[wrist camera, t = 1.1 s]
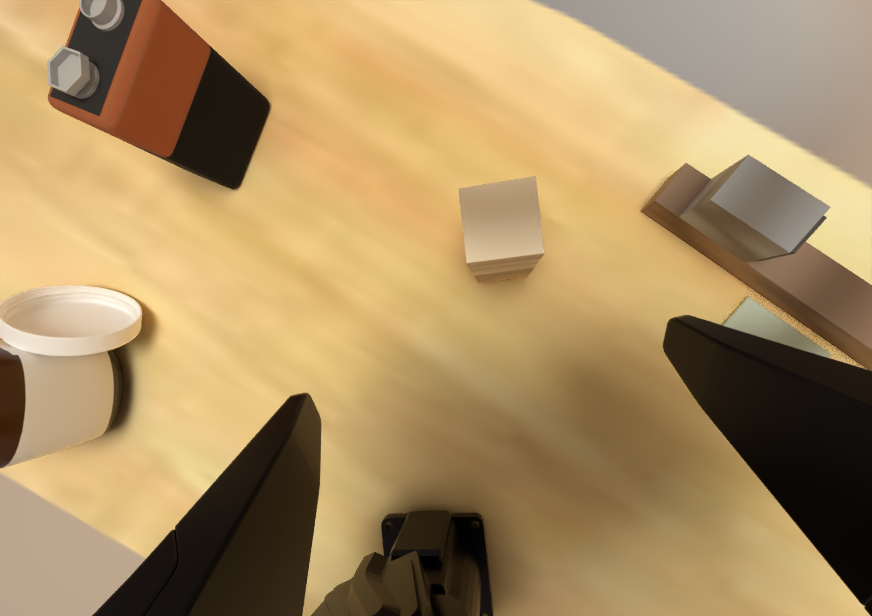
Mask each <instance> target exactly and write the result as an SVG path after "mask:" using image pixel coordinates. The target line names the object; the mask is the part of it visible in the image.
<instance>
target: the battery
mask: <svg viewBox="0 0 872 616" xmlns="http://www.w3.org/2000/svg"><path fill="white" fill-rule="evenodd" d="M47 66H48V83H49V86H51V88H50V91H49V94H48V100H49V103H50V104H51V105H52V106H53V107H54V108H55V109H57V110H59V111H61V112H63V113H65V114H67V115H69V116H71V117H74V118H76V119H78V120H80V121H82V122H84V123H86V124H89V125H91V126H93V127H95V128H97V129H99V130H101V131H104V132H106V133H108V134H110V135H112V136H114V137H116V138H119V139H121V140H123V141H125V142H127V143H129V144H131V145H134V146H136V147H138V148H140V149H142V150H144V151H146V152H149V153H151V154H153V155H155V156H157V157H159V158H161V159H164V160H166V161H168V162H170V163H172V164H174V165H176V166H179V167H181V168H183V169H185V170H187V171H189V172H192V173H194V174H197V175H199V176H201V177H204V178H206V179H209V180H211V181H213V182H216V183H218V184H221V185H223V186H225V187H228V188H231V189H234V188H236V187H237V186H238V185H239V182H240V180H241V177H242V175H243V172H244V170H245V167H246V165H247V162H248V159H249V157H250V154H251V152H252V149H253V147H254V144H255V141H256V139H257V136H258V134H259V131H260V129H261V126H262V123H263V121H264V118H265V116H266V113H267V110H268V107H269V102H268V100H267V99H266V98H265V97H264V96H263V95H262V94H261V93H260V92H259V91H258V90H257V89H256V88H255V87H253V86H252V85H251V84H250V83H249V82H248V81H247V80H246V79H245V78H244V77H243V76H242V75H241V74H240V73H238V72H237V71H236V70H235V69H234V68H233V67H232V66H231V65H230V64H229V63H228V62H227V61H226V60H225V59H223V58H222V57H221V56H220V55H219V54H218V53H217V52H216V51H215V50H214V49H213V48H212V47H211V46H210V45H209V44H207V43H206V42H205V41H204V40H203V39H202V38H201V37H200V36H199V35H198V34H197V33H196V32H195V31H194V30H192V29H191V28H190V27H189V26H188V25H187V24H186V23H185V22H184V21H183V20H182V19H181V18H180V17H179V16H177V15H176V14H175V13H174V12H173V11H172V10H171V9H170V8H169V7H168V6H167V5H166V4H165V3H164V2H162V1H161V0H80V7H79V10H78V13H77V16H76V18H75V21H74V24H73V27H72V30H71V32H70V35H69V38H68V41H67V43H66V46H62V47H61V48H60V49H59V50H58V51H57V52H56V53H55V55H54V56H53V57H52V58H51V59H50V60H49V61H48V62H47Z"/></svg>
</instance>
